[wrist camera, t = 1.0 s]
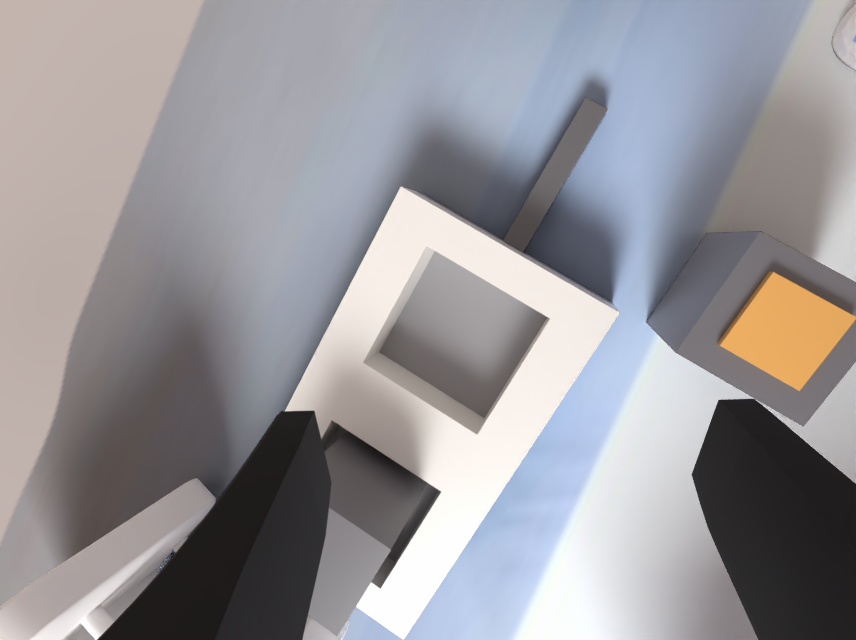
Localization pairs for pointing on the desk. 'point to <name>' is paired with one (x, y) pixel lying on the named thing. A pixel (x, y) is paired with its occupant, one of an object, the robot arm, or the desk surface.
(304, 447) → the robot arm
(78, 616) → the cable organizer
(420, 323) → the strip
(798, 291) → the plug
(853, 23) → the tablet computer
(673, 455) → the desk surface
